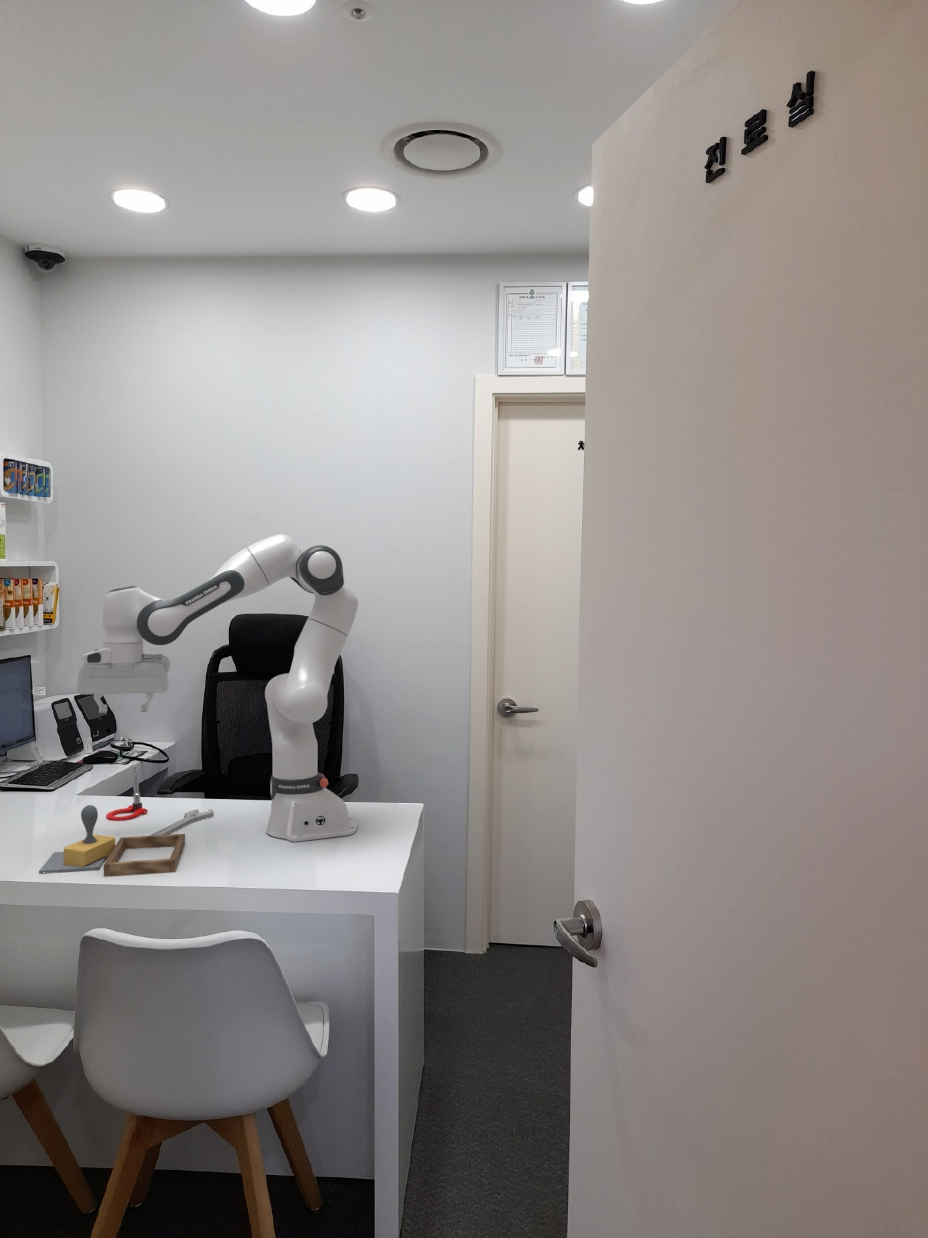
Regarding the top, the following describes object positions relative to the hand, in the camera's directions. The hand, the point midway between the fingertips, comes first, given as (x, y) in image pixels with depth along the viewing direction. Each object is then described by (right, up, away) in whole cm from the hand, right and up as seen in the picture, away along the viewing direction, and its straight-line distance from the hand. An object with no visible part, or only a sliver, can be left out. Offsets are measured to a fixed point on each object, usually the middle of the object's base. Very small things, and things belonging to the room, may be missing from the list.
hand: (124, 712), depth 197 cm
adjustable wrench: (+8, -31, +13) cm, 35 cm away
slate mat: (-5, -32, -14) cm, 35 cm away
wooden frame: (+10, -32, -11) cm, 35 cm away
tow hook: (-9, -30, +21) cm, 38 cm away
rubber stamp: (-2, -32, -13) cm, 34 cm away
